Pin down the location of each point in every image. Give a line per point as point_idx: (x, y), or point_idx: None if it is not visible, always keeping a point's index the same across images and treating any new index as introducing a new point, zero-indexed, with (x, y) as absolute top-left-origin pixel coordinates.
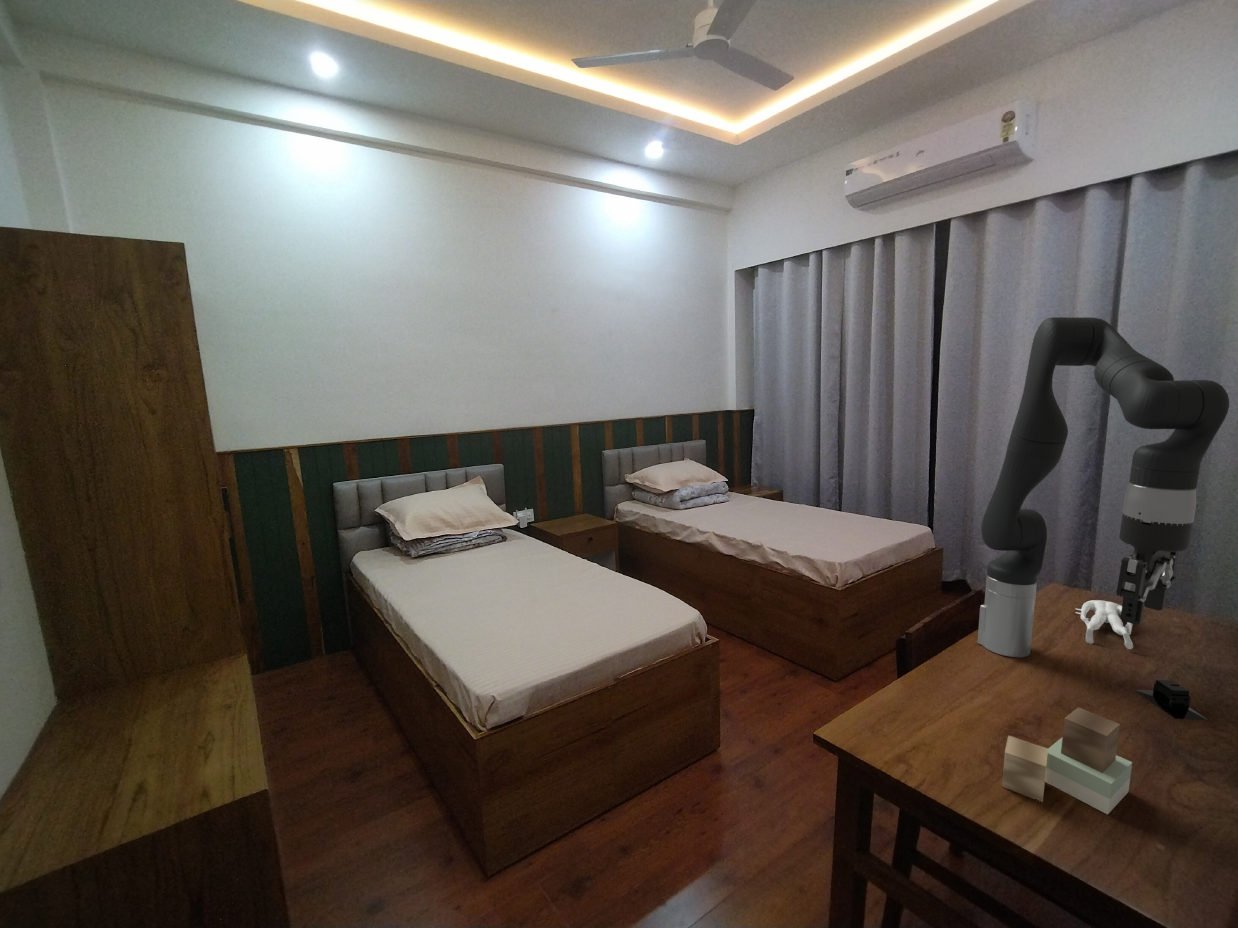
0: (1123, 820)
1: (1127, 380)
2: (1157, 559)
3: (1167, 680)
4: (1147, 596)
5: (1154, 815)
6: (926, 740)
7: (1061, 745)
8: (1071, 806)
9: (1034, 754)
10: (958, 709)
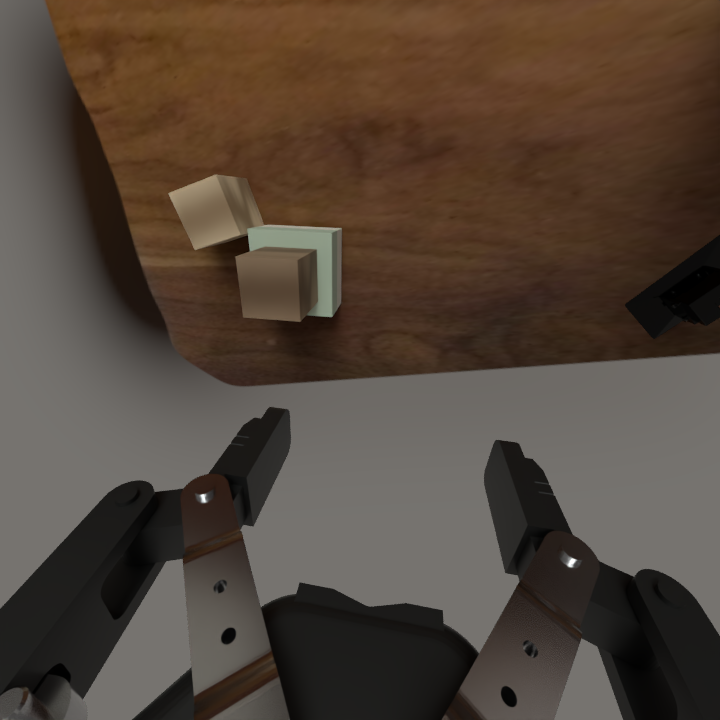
0: None
1: None
2: None
3: None
4: (506, 479)
5: (319, 330)
6: (189, 39)
7: (286, 239)
8: None
9: (206, 227)
10: (343, 10)
